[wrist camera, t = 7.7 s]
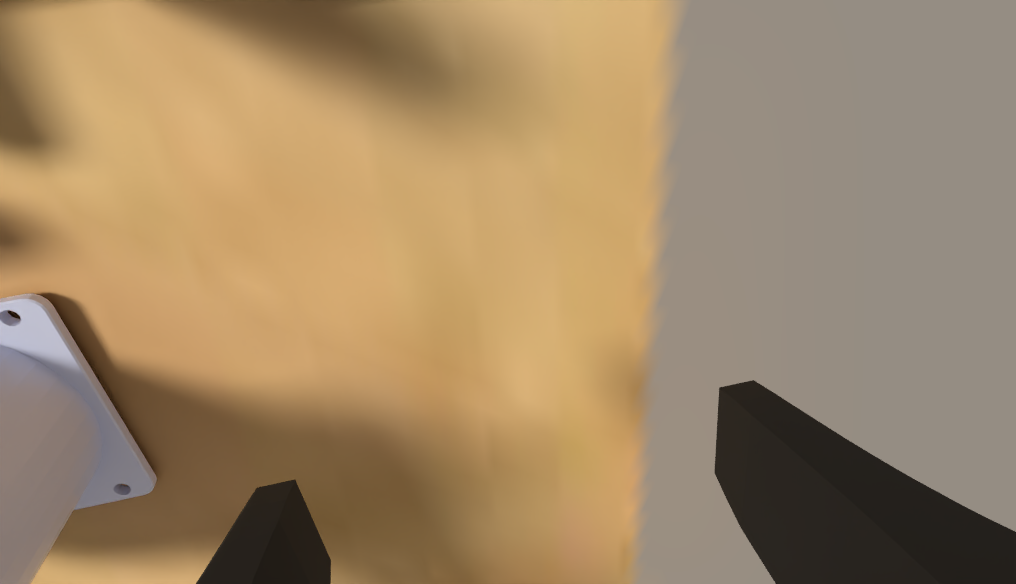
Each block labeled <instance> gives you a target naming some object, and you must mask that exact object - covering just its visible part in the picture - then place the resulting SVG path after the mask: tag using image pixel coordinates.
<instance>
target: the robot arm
mask: <svg viewBox="0 0 1016 584" xmlns="http://www.w3.org/2000/svg"><path fill="white" fill-rule="evenodd" d="M7 310H11V311H13V312H16V313H17V314H18V315H19V316H20V318H21V319H17V318H14V317H12V316H11V315H10V314H9V313H8V311H7ZM718 405H719V406H718V422H717V440H716V457H715V458H716V459H715V475H716V477H717V479H718V481H719V483H720V485H721V488H722V490H723V492H724V494H725V496H726V498H727V500H728V503H729V505H730V507H731V508H732V511H733V513H734V515H735V517H736V518H737V521H738V523H739V525H740V527H741V528H742V530H743V532H744V533H745V535H746V537H747V538H748V540H749V542H750V543H751V545H752V546H753V548H754V550H755V551H756V553H757V554H758V556H759V557H760V559H761V561H762V562H763V564H764V566H765V567H766V569H767V570H768V572H769V573H770V575H771V577H772V578H773V580H774V581H775V583H776V584H1016V532H1015V531H1013V530H1010V529H1008V528H1006V527H1004V526H1002V525H1000V524H998V523H996V522H994V521H992V520H990V519H988V518H986V517H984V516H982V515H980V514H978V513H976V512H974V511H972V510H970V509H968V508H966V507H964V506H962V505H960V504H959V503H957V502H955V501H953V500H951V499H949V498H948V497H946V496H944V495H942V494H940V493H938V492H936V491H935V490H933V489H931V488H929V487H927V486H926V485H924V484H922V483H920V482H918V481H916V480H915V479H913V478H911V477H909V476H907V475H906V474H904V473H902V472H900V471H899V470H897V469H895V468H894V467H892V466H890V465H889V464H887V463H885V462H883V461H881V460H880V459H878V458H877V457H875V456H873V455H872V454H870V453H868V452H867V451H865V450H863V449H862V448H860V447H858V446H857V445H855V444H854V443H852V442H850V441H849V440H847V439H845V438H843V437H842V436H841V435H839V434H837V433H836V432H834V431H832V430H831V429H829V428H828V427H826V426H825V425H823V424H822V423H820V422H818V421H817V420H815V419H814V418H812V417H810V416H809V415H807V414H806V413H804V412H803V411H801V410H800V409H798V408H796V407H795V406H793V405H792V404H790V403H788V402H787V401H785V400H784V399H782V398H781V397H779V396H778V395H776V394H775V393H773V392H771V391H770V390H768V389H767V388H765V387H764V386H762V385H760V384H758V383H757V382H755V381H754V380H753V381H748V382H744V383H739V384H735V385H730V386H725V387H720V388H719V404H718ZM156 481H157V478H156V475H155V473H154V472H153V470H152V468H151V467H150V465H149V463H148V462H147V460H146V458H145V457H144V455H143V454H142V452H141V450H140V449H139V447H138V445H137V444H136V442H135V440H134V439H133V437H132V435H131V434H130V432H129V430H128V429H127V427H126V425H125V424H124V422H123V420H122V419H121V417H120V415H119V414H118V412H117V410H116V409H115V407H114V406H113V404H112V402H111V401H110V399H109V397H108V396H107V394H106V392H105V391H104V389H103V387H102V386H101V384H100V382H99V381H98V379H97V377H96V376H95V374H94V372H93V371H92V369H91V367H90V366H89V364H88V363H87V361H86V359H85V358H84V356H83V354H82V353H81V351H80V349H79V348H78V346H77V344H76V343H75V341H74V339H73V338H72V336H71V334H70V333H69V331H68V329H67V328H66V326H65V324H64V323H63V321H62V319H61V318H60V316H59V315H58V313H57V311H56V310H55V308H54V306H53V305H52V304H51V303H50V301H49V300H48V299H46V298H44V297H43V296H41V295H37V294H21V295H16V296H11V297H6V298H0V584H31V582H32V581H33V579H34V577H35V575H36V574H37V572H38V570H39V569H40V567H41V565H42V563H43V562H44V560H45V558H46V556H47V555H48V553H49V551H50V550H51V548H52V546H53V544H54V543H55V541H56V539H57V538H58V536H59V534H60V532H61V531H62V529H63V527H64V525H65V524H66V522H67V520H68V519H69V517H70V515H71V513H72V512H73V510H77V509H82V508H86V507H91V506H96V505H100V504H105V503H110V502H114V501H119V500H124V499H128V498H133V497H138V496H142V495H146V494H148V493H150V492H151V491H152V490H153V488H154V486H155V484H156ZM121 484H126V485H128V486H124V485H121ZM330 580H331V560H330V558H329V555H328V553H327V551H326V549H325V546H324V544H323V542H322V540H321V537H320V535H319V533H318V530H317V528H316V526H315V524H314V521H313V519H312V517H311V515H310V512H309V510H308V508H307V506H306V503H305V501H304V499H303V496H302V494H301V492H300V490H299V487H298V485H297V483H296V481H295V480H291V481H286V482H282V483H277V484H273V485H268V486H263V487H259V488H257V489H256V490H255V492H254V493H253V494H252V496H251V498H250V499H249V501H248V502H247V504H246V505H245V507H244V508H243V510H242V512H241V513H240V515H239V516H238V518H237V520H236V521H235V523H234V524H233V526H232V528H231V529H230V531H229V532H228V534H227V536H226V537H225V539H224V540H223V542H222V544H221V545H220V547H219V548H218V550H217V552H216V553H215V555H214V556H213V558H212V560H211V561H210V563H209V564H208V566H207V567H206V569H205V571H204V572H203V574H202V575H201V577H200V578H199V580H198V581H197V583H196V584H330Z"/></svg>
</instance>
